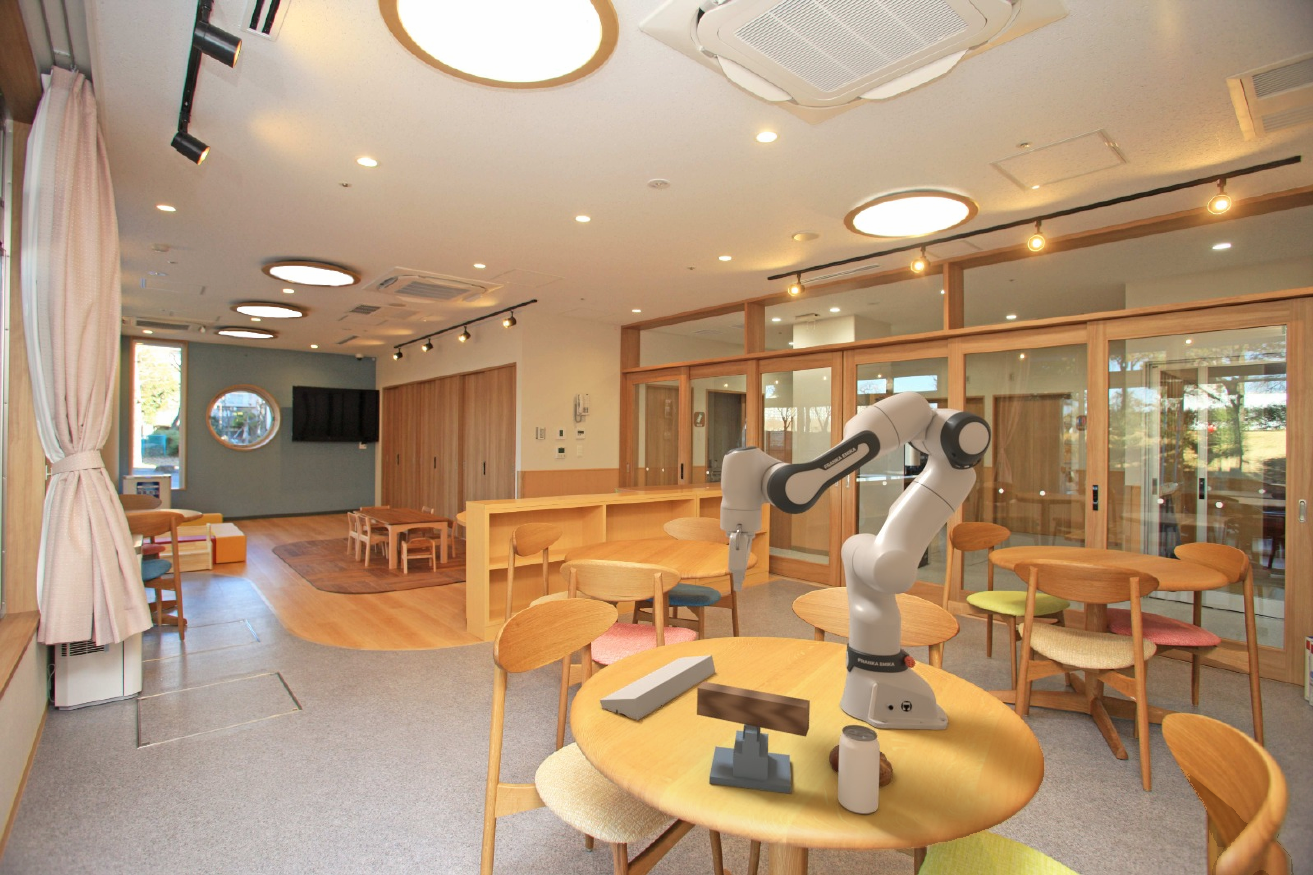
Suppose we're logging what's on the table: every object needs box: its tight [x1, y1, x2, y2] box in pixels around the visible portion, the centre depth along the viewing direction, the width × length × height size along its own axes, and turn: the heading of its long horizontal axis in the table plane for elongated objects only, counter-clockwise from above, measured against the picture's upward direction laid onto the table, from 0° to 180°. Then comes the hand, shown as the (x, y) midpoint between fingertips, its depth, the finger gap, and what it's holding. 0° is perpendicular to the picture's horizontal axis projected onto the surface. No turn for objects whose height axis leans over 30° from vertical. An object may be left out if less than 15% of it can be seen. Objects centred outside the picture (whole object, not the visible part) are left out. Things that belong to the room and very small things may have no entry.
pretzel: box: [829, 743, 894, 787], centre depth 116 cm, size 12×11×4 cm
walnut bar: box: [696, 680, 811, 738], centre depth 114 cm, size 20×3×5 cm, turn 68°
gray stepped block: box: [708, 724, 792, 794], centre depth 114 cm, size 14×11×9 cm
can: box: [837, 724, 881, 815], centre depth 105 cm, size 6×6×12 cm
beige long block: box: [599, 654, 716, 721], centre depth 151 cm, size 34×5×10 cm
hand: (739, 585), depth 135 cm, fingers open, 8 cm apart
